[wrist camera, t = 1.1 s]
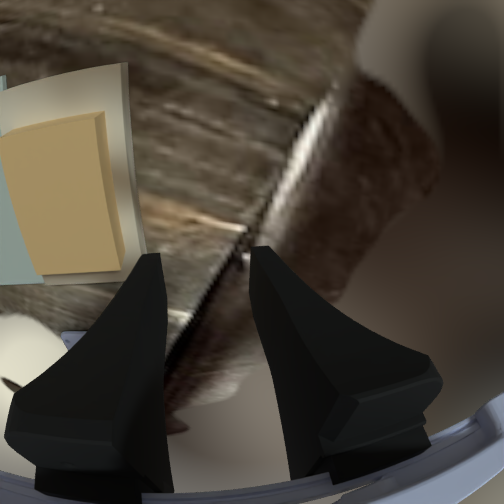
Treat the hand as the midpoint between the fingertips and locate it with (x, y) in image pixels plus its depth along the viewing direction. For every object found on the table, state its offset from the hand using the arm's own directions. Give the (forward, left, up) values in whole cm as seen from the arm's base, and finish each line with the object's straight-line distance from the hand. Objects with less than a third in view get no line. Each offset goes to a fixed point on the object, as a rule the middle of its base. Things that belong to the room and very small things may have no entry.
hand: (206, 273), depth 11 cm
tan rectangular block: (0, +8, -7) cm, 11 cm away
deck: (0, +8, -10) cm, 13 cm away
